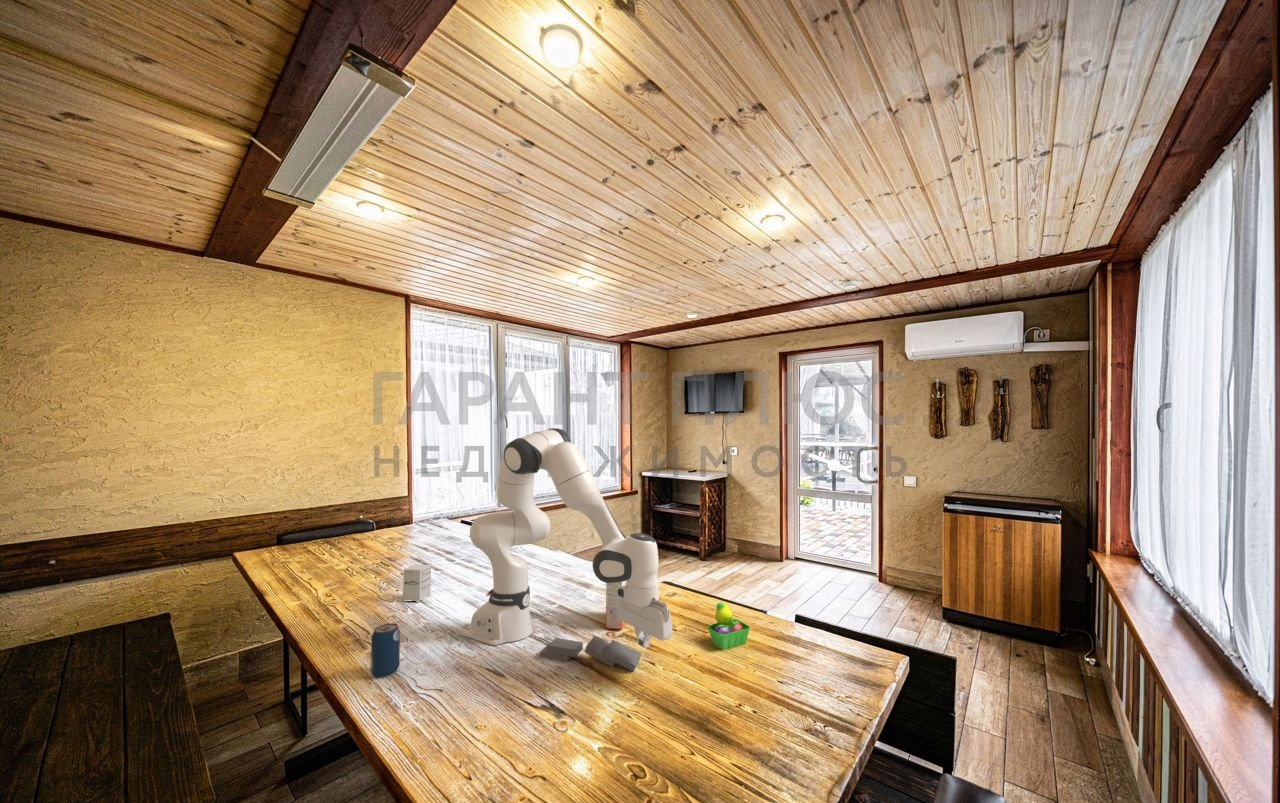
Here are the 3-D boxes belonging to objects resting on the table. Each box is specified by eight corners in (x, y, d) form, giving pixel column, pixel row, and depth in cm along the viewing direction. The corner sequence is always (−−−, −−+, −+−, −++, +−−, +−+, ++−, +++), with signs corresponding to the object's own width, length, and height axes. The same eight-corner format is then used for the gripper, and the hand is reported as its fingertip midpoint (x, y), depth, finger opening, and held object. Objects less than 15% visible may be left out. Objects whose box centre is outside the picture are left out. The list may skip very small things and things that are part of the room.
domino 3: (612, 667, 129) (584, 651, 132) (620, 655, 133) (593, 640, 136) (614, 661, 128) (586, 646, 131) (621, 649, 133) (594, 635, 136)
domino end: (633, 671, 126) (604, 656, 129) (639, 659, 131) (611, 645, 134) (635, 665, 126) (605, 651, 128) (641, 653, 131) (612, 639, 133)
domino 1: (567, 663, 132) (540, 658, 135) (575, 655, 137) (548, 650, 140) (567, 656, 132) (540, 651, 136) (575, 648, 137) (548, 644, 140)
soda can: (405, 668, 130) (405, 624, 130) (384, 681, 123) (385, 634, 124) (386, 664, 132) (387, 621, 133) (364, 676, 126) (365, 631, 126)
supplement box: (402, 602, 180) (402, 569, 181) (414, 595, 187) (415, 563, 188) (419, 603, 179) (420, 569, 180) (431, 596, 186) (431, 564, 187)
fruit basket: (722, 653, 137) (721, 613, 137) (704, 641, 144) (703, 603, 145) (752, 644, 142) (751, 606, 142) (733, 633, 150) (732, 597, 150)
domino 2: (574, 657, 132) (547, 652, 135) (582, 649, 137) (556, 644, 140) (574, 649, 132) (547, 645, 135) (582, 642, 137) (556, 637, 140)
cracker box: (623, 630, 152) (622, 565, 154) (605, 629, 154) (604, 564, 155) (632, 613, 166) (631, 554, 167) (615, 612, 167) (615, 553, 169)
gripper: (677, 601, 122) (678, 655, 122) (629, 582, 138) (629, 630, 137) (659, 607, 118) (660, 663, 118) (612, 587, 134) (612, 636, 133)
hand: (643, 645), depth 128 cm, fingers closed
